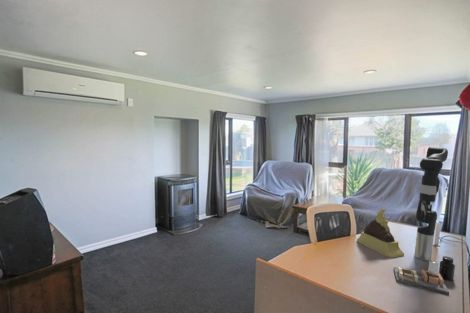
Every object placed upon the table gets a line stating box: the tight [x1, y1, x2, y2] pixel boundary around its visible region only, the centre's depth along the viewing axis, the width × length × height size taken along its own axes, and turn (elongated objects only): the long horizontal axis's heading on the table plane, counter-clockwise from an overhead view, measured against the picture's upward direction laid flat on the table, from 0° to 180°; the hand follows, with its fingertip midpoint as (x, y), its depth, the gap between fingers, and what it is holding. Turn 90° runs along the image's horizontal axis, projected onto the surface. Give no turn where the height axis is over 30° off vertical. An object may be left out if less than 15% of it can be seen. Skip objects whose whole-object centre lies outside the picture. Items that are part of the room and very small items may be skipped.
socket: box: [420, 269, 445, 286], centre depth 146 cm, size 8×8×3 cm
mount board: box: [393, 266, 450, 296], centre depth 147 cm, size 16×23×4 cm
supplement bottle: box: [438, 255, 456, 282], centre depth 152 cm, size 7×7×12 cm
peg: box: [427, 260, 439, 278], centre depth 146 cm, size 4×4×10 cm
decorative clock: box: [356, 208, 405, 259], centre depth 188 cm, size 28×13×30 cm, turn 22°
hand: (424, 219), depth 156 cm, fingers open, 8 cm apart
